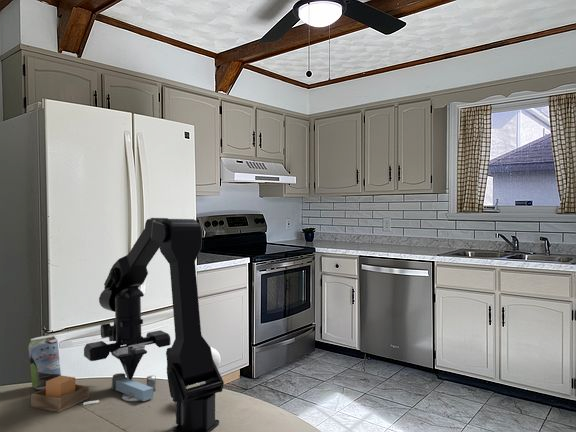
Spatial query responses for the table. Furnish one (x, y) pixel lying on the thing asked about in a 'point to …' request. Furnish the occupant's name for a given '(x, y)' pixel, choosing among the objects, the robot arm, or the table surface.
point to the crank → (131, 387)
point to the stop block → (60, 386)
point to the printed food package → (44, 360)
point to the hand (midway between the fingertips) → (129, 381)
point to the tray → (59, 399)
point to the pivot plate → (129, 398)
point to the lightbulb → (214, 359)
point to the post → (151, 382)
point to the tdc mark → (91, 402)
